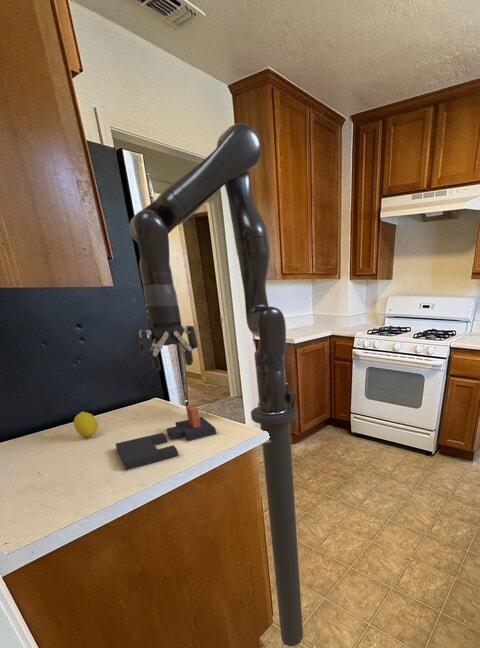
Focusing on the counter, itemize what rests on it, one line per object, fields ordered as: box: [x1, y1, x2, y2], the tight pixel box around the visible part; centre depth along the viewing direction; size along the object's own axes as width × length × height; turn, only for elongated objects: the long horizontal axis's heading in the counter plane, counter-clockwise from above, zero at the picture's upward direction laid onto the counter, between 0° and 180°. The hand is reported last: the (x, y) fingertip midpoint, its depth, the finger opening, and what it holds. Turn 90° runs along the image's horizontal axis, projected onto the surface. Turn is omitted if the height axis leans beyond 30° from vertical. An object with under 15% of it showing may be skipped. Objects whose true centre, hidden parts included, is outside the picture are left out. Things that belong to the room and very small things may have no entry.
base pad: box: [115, 432, 179, 471], centre depth 92 cm, size 12×14×2 cm
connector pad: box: [166, 404, 217, 442], centre depth 103 cm, size 12×12×8 cm
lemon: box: [73, 411, 99, 439], centre depth 101 cm, size 6×6×8 cm
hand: (174, 367), depth 95 cm, fingers open, 8 cm apart
